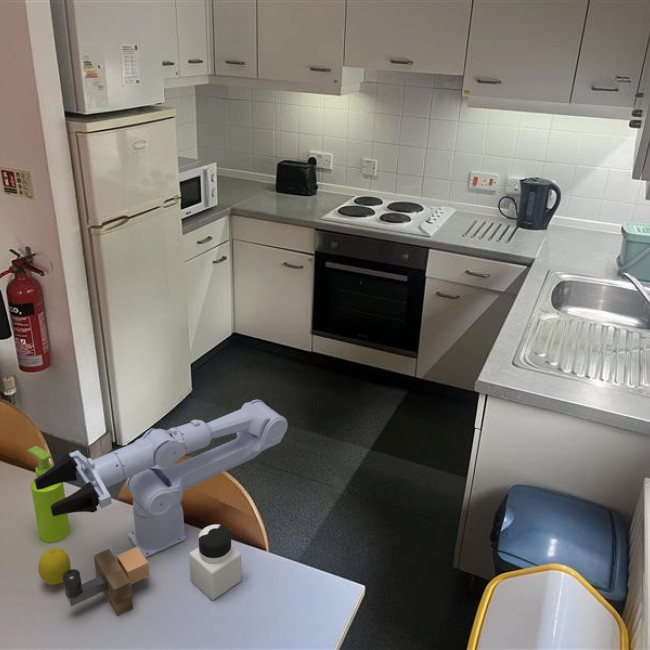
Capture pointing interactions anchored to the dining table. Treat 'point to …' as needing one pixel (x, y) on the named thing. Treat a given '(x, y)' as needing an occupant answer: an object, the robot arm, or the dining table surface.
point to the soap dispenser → (48, 502)
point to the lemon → (53, 565)
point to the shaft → (82, 587)
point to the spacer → (134, 564)
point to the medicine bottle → (215, 562)
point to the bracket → (114, 582)
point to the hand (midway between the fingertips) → (43, 497)
